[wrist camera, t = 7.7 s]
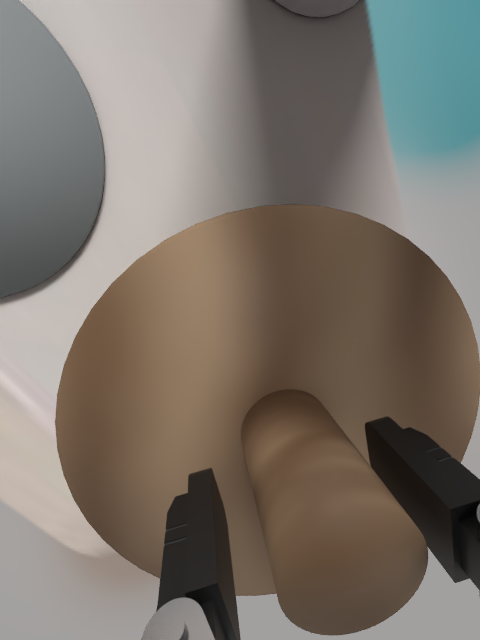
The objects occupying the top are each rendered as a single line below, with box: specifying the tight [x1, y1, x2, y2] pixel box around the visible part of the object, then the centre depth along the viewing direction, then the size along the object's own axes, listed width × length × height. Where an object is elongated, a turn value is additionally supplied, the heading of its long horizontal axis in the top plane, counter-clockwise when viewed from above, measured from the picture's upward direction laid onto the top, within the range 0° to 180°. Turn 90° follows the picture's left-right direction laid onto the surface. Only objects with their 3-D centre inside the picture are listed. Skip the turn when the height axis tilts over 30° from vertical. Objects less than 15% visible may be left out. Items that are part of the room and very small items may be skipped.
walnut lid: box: [55, 204, 480, 635], centre depth 10 cm, size 17×17×6 cm
